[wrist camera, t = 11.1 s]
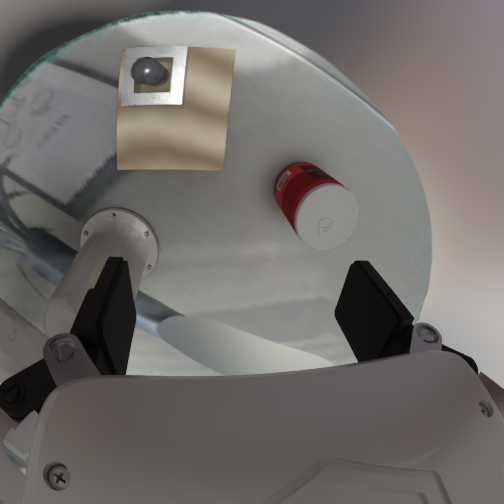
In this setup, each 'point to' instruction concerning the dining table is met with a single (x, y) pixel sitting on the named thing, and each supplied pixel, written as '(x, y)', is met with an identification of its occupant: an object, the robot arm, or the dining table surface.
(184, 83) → the collar
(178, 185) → the dining table surface
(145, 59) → the pin
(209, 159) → the board
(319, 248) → the canned food
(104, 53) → the dining table surface
